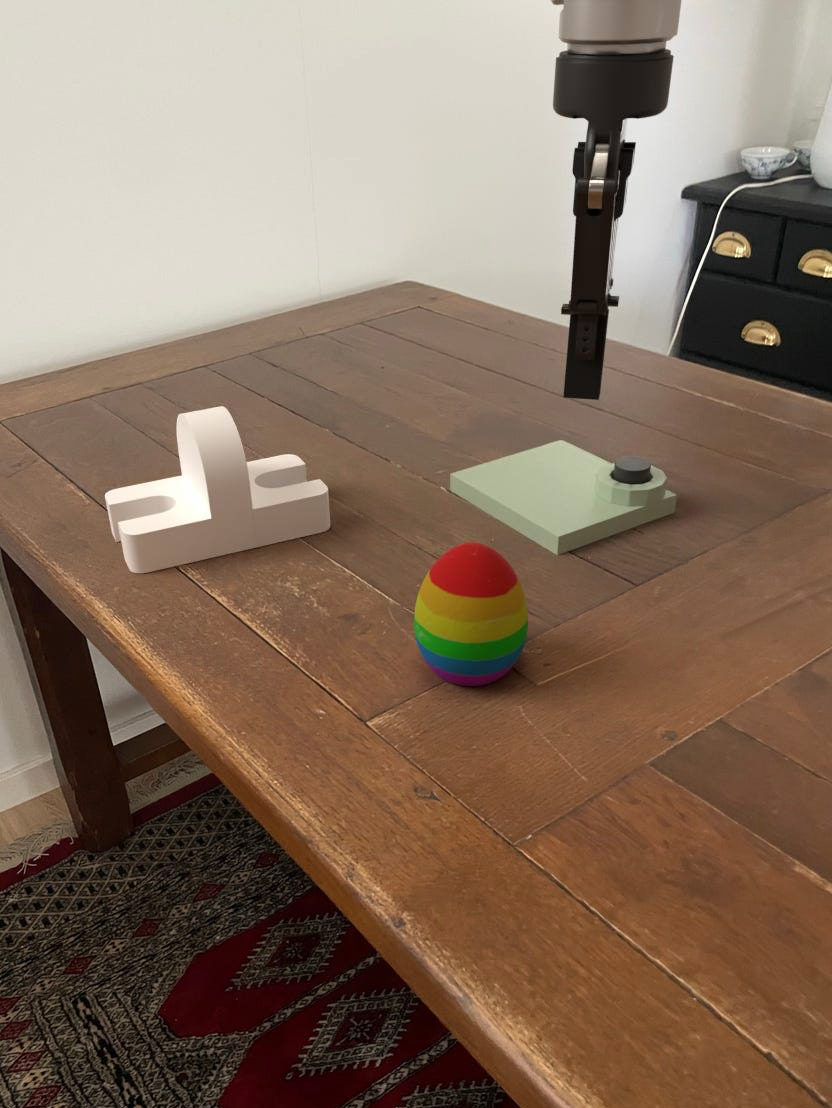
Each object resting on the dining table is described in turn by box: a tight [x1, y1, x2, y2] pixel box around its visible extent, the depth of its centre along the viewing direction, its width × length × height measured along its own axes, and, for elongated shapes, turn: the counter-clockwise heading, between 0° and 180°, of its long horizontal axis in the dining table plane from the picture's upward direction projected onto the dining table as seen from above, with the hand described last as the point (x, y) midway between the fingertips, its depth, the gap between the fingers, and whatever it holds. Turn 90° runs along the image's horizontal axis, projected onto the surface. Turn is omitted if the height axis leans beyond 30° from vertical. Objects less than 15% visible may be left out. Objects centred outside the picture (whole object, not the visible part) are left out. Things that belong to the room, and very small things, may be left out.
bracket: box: [104, 405, 331, 574], centre depth 93 cm, size 19×10×11 cm, turn 112°
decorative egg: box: [413, 541, 529, 687], centre depth 73 cm, size 8×8×10 cm
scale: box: [449, 439, 678, 556], centre depth 97 cm, size 16×14×4 cm
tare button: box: [613, 456, 652, 485], centre depth 93 cm, size 3×3×2 cm
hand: (581, 395), depth 80 cm, fingers closed
